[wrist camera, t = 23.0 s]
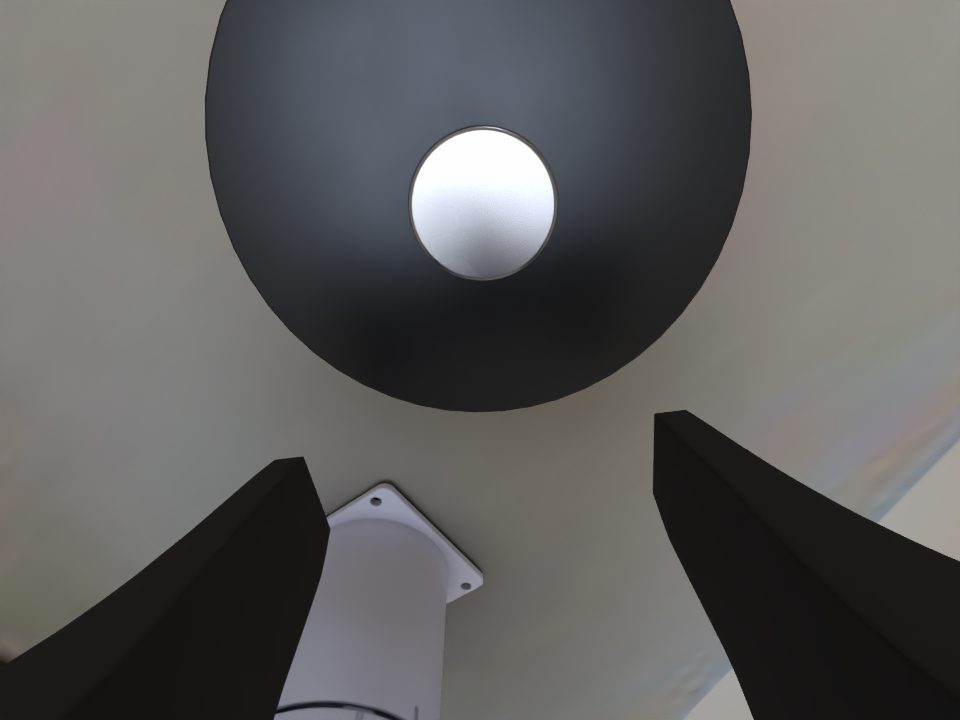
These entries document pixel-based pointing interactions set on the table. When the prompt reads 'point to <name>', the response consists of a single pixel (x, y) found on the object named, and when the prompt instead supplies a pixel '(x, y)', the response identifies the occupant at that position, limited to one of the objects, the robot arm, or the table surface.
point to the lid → (478, 181)
